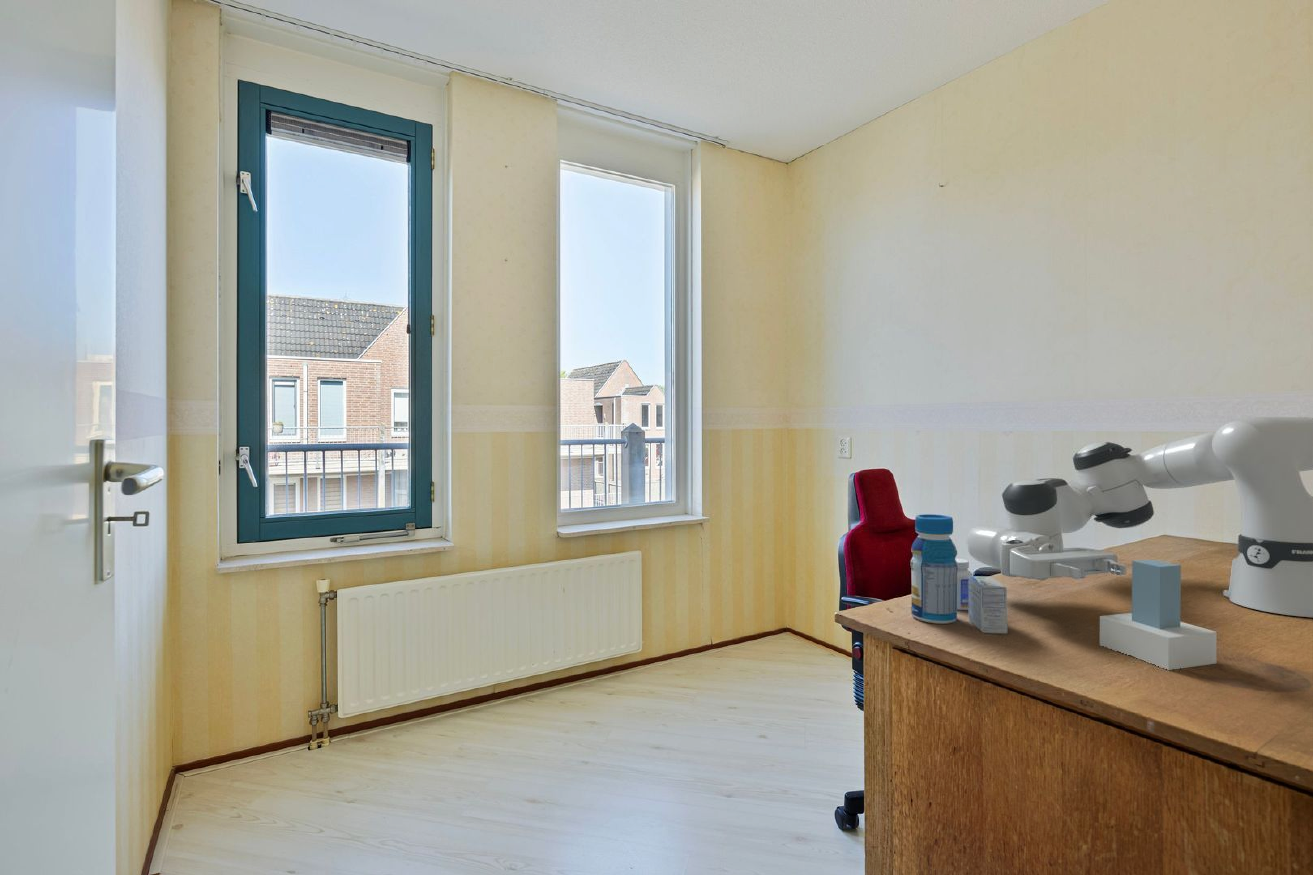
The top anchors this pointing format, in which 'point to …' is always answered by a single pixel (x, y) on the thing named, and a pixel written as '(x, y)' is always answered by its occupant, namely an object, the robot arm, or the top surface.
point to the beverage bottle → (934, 570)
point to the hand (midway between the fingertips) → (1103, 572)
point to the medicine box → (987, 604)
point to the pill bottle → (962, 584)
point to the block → (1156, 593)
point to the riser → (1159, 642)
